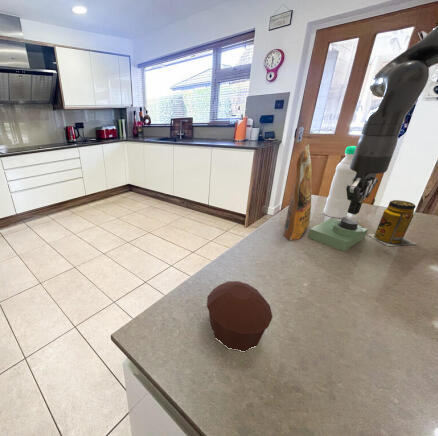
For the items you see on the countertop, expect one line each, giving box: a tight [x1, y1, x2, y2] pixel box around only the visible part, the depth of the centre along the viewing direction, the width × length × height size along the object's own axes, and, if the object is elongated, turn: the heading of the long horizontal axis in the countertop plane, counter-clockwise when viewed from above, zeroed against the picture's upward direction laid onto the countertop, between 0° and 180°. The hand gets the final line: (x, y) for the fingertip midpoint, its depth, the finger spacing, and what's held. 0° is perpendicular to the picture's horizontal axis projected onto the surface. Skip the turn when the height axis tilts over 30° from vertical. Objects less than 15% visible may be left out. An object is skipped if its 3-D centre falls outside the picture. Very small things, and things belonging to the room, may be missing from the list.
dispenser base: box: [307, 217, 369, 252], centre depth 73 cm, size 13×10×5 cm
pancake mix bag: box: [283, 142, 313, 242], centre depth 74 cm, size 7×19×28 cm, turn 136°
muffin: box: [206, 280, 274, 352], centre depth 44 cm, size 12×11×10 cm
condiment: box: [367, 199, 417, 247], centre depth 69 cm, size 7×8×12 cm
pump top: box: [339, 217, 359, 230], centre depth 70 cm, size 4×4×2 cm
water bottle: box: [323, 145, 357, 219], centre depth 83 cm, size 7×7×25 cm
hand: (352, 213), depth 68 cm, fingers closed
